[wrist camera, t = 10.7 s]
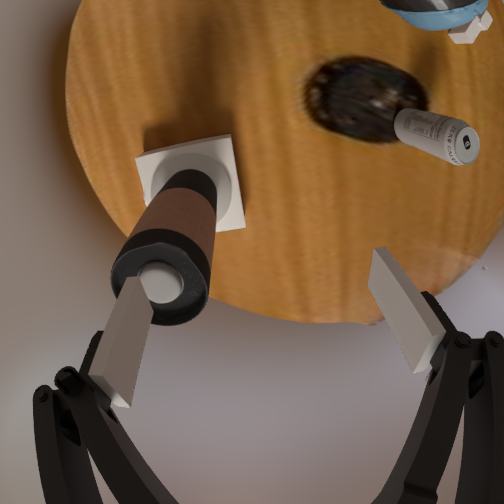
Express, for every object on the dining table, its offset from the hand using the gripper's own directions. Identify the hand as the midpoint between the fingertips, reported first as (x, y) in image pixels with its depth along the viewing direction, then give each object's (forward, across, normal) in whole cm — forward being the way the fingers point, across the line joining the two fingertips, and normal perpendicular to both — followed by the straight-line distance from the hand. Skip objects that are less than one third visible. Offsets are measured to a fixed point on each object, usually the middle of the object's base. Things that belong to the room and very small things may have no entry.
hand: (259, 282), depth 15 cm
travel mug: (+23, -8, -3) cm, 25 cm away
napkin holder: (+30, +44, +26) cm, 59 cm away
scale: (+28, -8, -3) cm, 29 cm away
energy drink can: (+29, +27, +4) cm, 40 cm away
